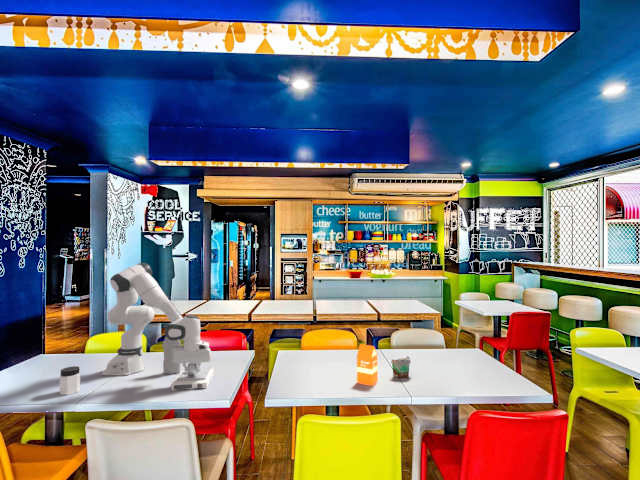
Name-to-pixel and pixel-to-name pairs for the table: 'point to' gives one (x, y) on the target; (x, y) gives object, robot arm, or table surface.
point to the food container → (401, 367)
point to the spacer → (192, 369)
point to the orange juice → (366, 365)
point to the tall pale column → (170, 357)
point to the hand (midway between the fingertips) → (192, 370)
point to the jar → (69, 380)
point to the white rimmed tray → (193, 379)
